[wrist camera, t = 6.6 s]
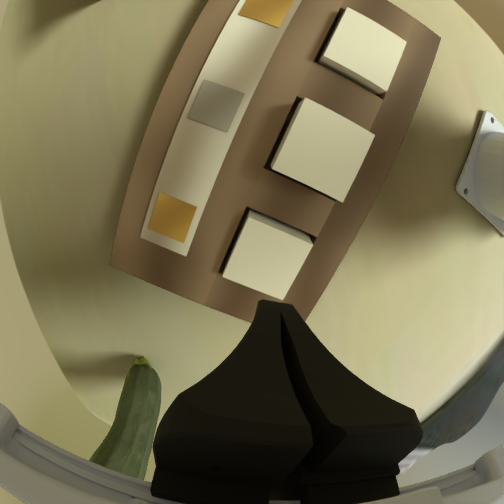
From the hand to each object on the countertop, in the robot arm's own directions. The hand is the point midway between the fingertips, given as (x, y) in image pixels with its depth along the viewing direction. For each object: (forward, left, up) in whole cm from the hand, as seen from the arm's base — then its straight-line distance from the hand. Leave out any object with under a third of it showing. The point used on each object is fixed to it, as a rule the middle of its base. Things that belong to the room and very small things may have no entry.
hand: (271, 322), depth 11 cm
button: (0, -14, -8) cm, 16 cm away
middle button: (0, -7, -7) cm, 10 cm away
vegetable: (+5, +16, -9) cm, 19 cm away
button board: (+3, -7, -9) cm, 12 cm away
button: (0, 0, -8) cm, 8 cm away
